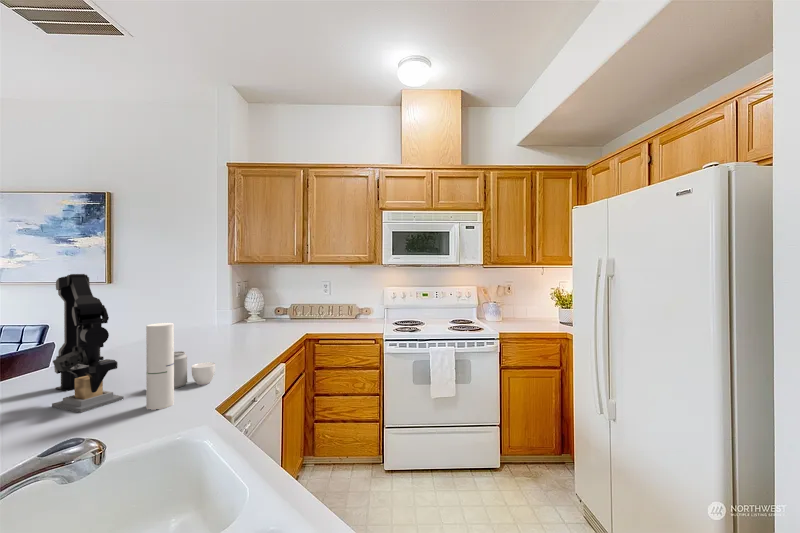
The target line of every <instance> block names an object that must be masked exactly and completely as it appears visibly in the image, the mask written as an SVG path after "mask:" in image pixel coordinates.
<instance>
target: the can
mask: <svg viewBox="0 0 800 533" xmlns="http://www.w3.org/2000/svg"><path fill="white" fill-rule="evenodd" d="M187 383H188V355H187V354H186V351H182V350H181V351H174V389H178V388H181V387H184V386H185V385H187Z"/></svg>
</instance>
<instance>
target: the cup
mask: <svg viewBox="0 0 800 533" xmlns="http://www.w3.org/2000/svg"><path fill="white" fill-rule="evenodd" d="M215 374H216V363H215V362H209V361H208V362H200V363H195V364H192V366H191V376H192V379H193V380H194V382H195V384H196V385H197V386H205V385H208V384H211V382H212V380H213V378H214V376H215Z"/></svg>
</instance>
